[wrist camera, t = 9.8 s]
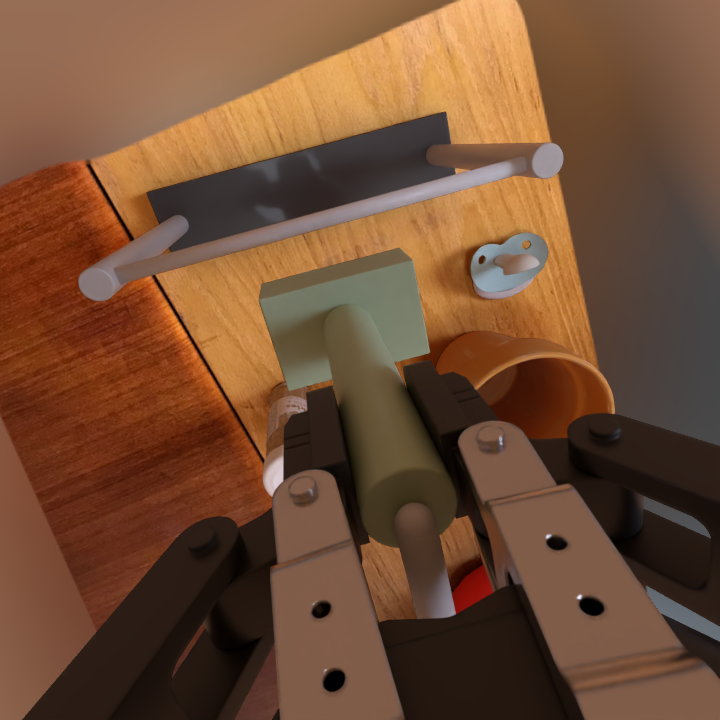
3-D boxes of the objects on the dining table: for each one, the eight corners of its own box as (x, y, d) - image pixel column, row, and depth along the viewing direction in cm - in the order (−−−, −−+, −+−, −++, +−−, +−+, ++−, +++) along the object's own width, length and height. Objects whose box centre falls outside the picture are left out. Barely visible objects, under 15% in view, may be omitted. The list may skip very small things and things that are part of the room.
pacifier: (540, 282, 49) (533, 224, 46) (574, 302, 43) (568, 237, 41) (470, 306, 49) (459, 249, 46) (495, 329, 43) (484, 265, 41)
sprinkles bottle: (321, 390, 50) (333, 468, 38) (301, 425, 51) (306, 512, 39) (280, 372, 49) (278, 448, 36) (260, 409, 50) (252, 494, 38)
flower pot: (518, 278, 48) (594, 321, 36) (556, 392, 54) (631, 460, 42) (388, 343, 49) (420, 405, 37) (439, 448, 55) (481, 530, 43)
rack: (178, 260, 43) (94, 351, 24) (150, 190, 41) (31, 229, 22) (452, 185, 44) (581, 215, 25) (441, 112, 41) (574, 83, 22)
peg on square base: (307, 419, 25) (333, 750, 11) (262, 277, 21) (221, 499, 8) (423, 387, 25) (586, 677, 11) (395, 242, 22) (573, 403, 8)
